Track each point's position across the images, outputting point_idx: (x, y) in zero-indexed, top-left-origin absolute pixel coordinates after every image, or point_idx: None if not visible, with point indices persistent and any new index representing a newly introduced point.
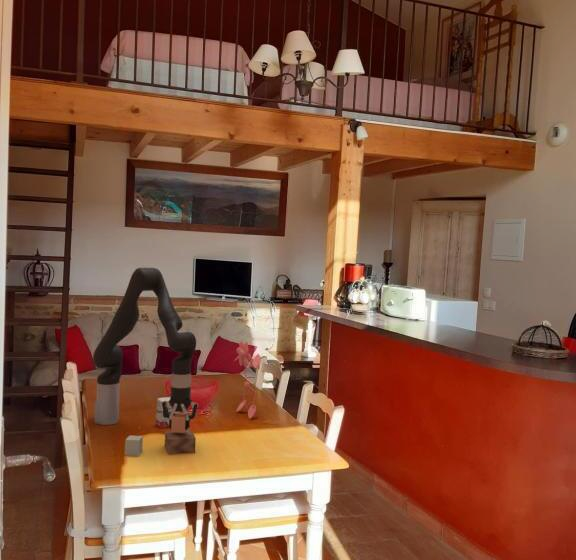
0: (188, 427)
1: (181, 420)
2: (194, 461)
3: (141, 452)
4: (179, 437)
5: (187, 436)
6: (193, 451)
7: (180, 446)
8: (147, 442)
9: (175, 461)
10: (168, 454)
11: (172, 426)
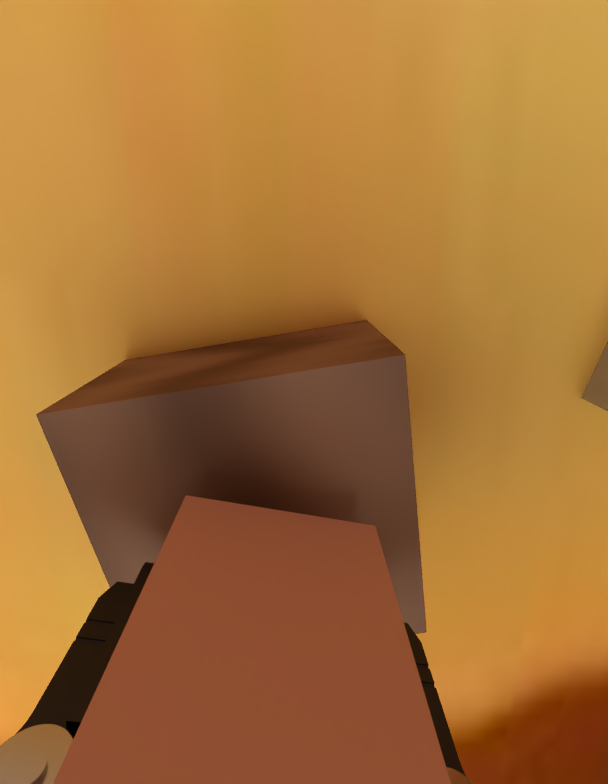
0: (108, 595)
1: (186, 702)
2: (93, 94)
3: (596, 373)
4: (257, 428)
5: (155, 465)
6: (133, 360)
7: (250, 354)
8: (509, 588)
9: (296, 106)
10: (364, 321)
11: (376, 590)
